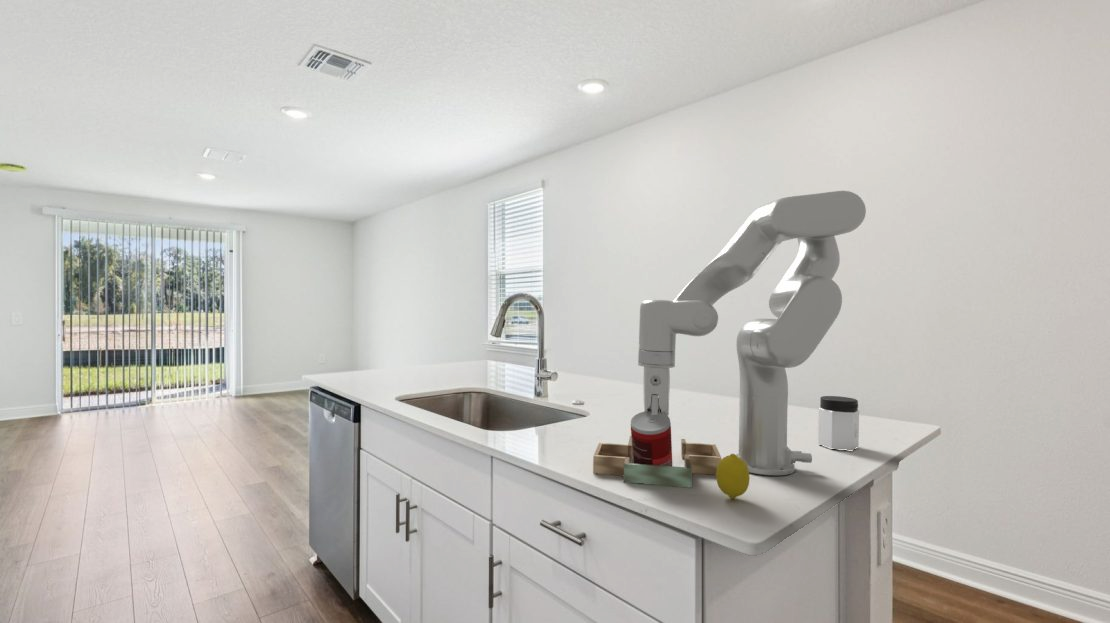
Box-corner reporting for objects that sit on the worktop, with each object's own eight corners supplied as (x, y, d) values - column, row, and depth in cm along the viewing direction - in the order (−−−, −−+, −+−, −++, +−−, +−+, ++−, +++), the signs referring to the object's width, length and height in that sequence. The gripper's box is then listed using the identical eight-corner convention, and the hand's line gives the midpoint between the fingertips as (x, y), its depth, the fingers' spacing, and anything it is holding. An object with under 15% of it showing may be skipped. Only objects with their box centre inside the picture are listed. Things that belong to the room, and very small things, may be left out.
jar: (850, 453, 120) (851, 403, 120) (814, 446, 126) (815, 398, 126) (862, 447, 126) (863, 398, 126) (826, 440, 132) (827, 394, 132)
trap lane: (713, 456, 116) (713, 440, 116) (727, 490, 94) (727, 471, 94) (602, 448, 121) (602, 433, 121) (590, 479, 99) (590, 461, 99)
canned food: (673, 458, 105) (671, 410, 101) (671, 482, 98) (669, 432, 94) (636, 456, 107) (632, 409, 104) (631, 479, 100) (628, 430, 96)
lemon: (733, 507, 86) (733, 459, 86) (709, 496, 91) (709, 451, 91) (756, 501, 89) (756, 456, 89) (731, 491, 94) (732, 448, 94)
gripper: (675, 363, 98) (672, 458, 98) (674, 357, 113) (671, 439, 113) (636, 361, 100) (633, 454, 100) (639, 355, 114) (637, 436, 114)
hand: (653, 446), depth 106 cm, fingers closed
